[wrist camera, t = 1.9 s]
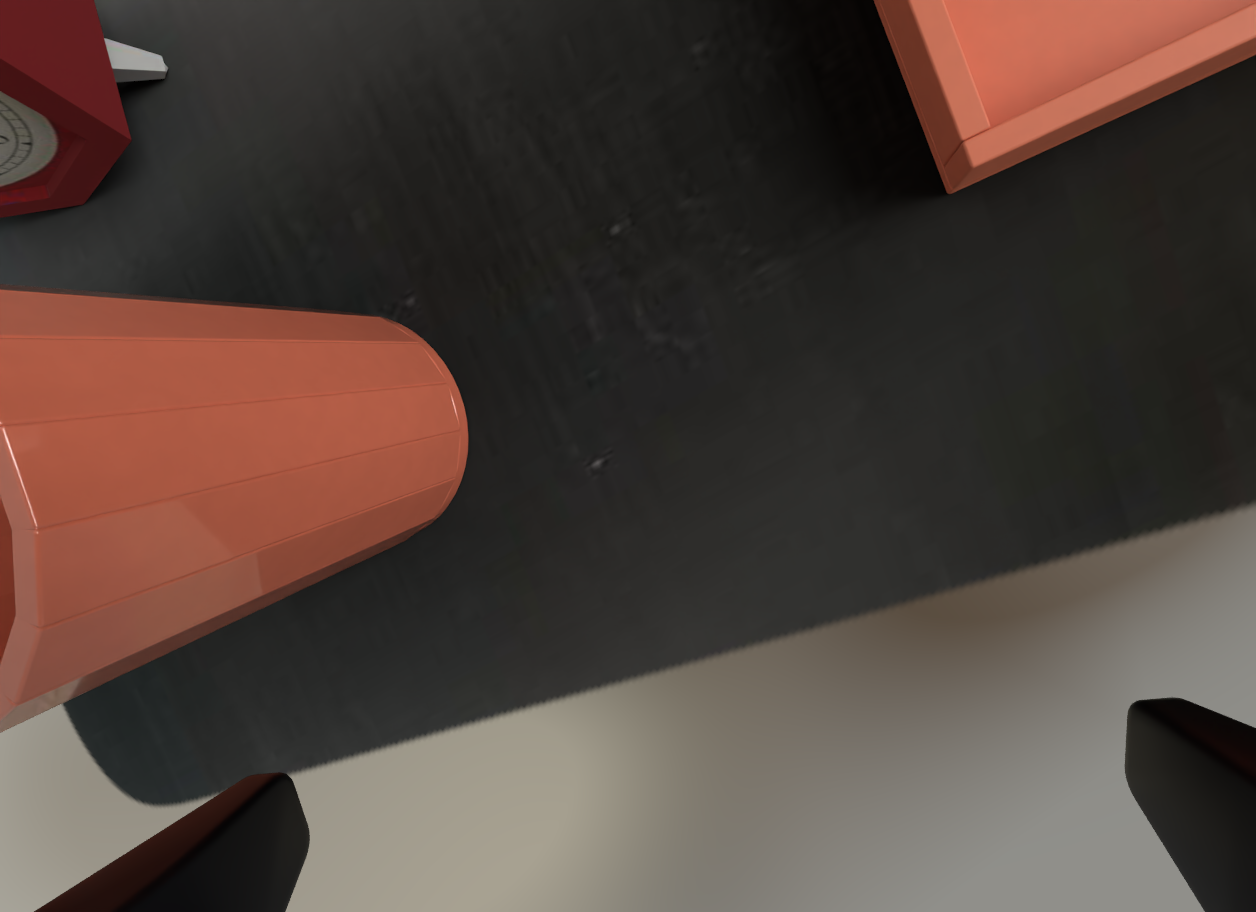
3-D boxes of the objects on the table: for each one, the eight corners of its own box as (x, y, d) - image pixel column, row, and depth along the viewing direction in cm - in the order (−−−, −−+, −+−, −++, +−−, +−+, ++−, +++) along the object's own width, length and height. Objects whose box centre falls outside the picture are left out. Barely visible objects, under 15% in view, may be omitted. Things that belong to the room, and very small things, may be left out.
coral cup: (508, 393, 20) (97, 455, 8) (410, 583, 22) (-30, 841, 10) (321, 270, 21) (-272, 176, 9) (243, 462, 23) (-323, 577, 11)
